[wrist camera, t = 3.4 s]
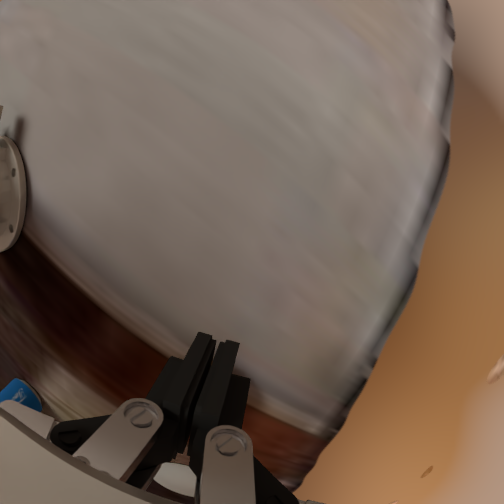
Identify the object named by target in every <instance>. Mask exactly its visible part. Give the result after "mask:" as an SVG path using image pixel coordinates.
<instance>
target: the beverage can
mask: <svg viewBox="0 0 504 504" xmlns="http://www.w3.org/2000/svg"><path fill="white" fill-rule="evenodd" d="M5 400H13V401H16V402H18V403H20V404H22V405H24V406H27V407H29V408H31V409H33V410H36V411H38V412H41V411H42V405H41V400H40V397H39V396H38V394H37V393H36V391H35V390H34V389H33V388H32V387H31V386H30V385H29V384H28V383H27V382H25V381H24V380H19V379H17V378H15V379H13V380H12V381H11V382H10V383H9V384H8V385H7V386H6V387H5V388H4V389H3V390H2V391H1V392H0V403H1V402H3V401H5Z"/></svg>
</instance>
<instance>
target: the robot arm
mask: <svg viewBox="0 0 504 504" xmlns="http://www.w3.org/2000/svg"><path fill="white" fill-rule="evenodd" d="M2 110H3V106H1V105H0V119H1V114H2ZM25 210H26V177H25V171H24V165H23V162H22V158H21V155H20V153H19V150H18V148H17V146H16V145H15V143H14V142H13V141H12V140H11V139H10V138H9V137H6V136H0V252H2V251H5V250H8V249H9V248H11V247H12V246H13V245H14V244H15V242H16V241H17V239H18V237H19V235H20V233H21V229H22V226H23V222H24V217H25ZM239 344H240V343H238V342H234V341H230V340H226V342H225V343H224V342H220V344H219V346H218V349H217V352H216V354H215V357H214V360H213V355H214V350H215V345H216V340H213V339H212V335H209V334H205V333H202V332H198V334H197V336H196V338H195V340H194V341H193V343H192V345H191V347H190V349H189V351H188V353H187V355H186V356H185V358H184V360H182V359H179V358H176V357H173V356H171V357H170V358H169V360H168V361H167V363H166V365H165V366H164V368H163V370H162V371H161V373H160V375H159V376H158V378H157V380H156V382H155V383H154V385H153V387H152V388H151V390H150V392H149V393H148V395H147V397H146V398H145V399H142V398H134V399H130V400H127V401H126V402H124V403H123V404H122V405H121V406H120V407H119V408H118V409H117V410H116V411H115V412H114V413H113V414H112V415H106V416H100V417H93V418H86V419H79V420H71V421H64V422H57V421H56V420H55V418H53V417H50V416H48V415H45V414H43V413H40V412H38V411H36V410H33V409H31V408H29V407H27V406H24V405H22V404H20V403H18V402H16V401H13V400H5V401H3V402H1V403H0V504H181V503H178V502H175V501H172V500H169V499H166V498H163V497H160V496H157V495H154V494H151V493H149V492H146V491H145V490H146V488H147V487H148V486H149V484H150V483H151V481H152V480H153V478H154V477H155V475H156V474H157V472H158V471H159V469H160V468H161V465H162V463H166V462H169V461H171V460H172V458H173V459H175V458H176V455H177V453H181V454H183V452H184V450H185V447H186V444H187V441H188V439H189V436H190V439H189V445H188V452H187V456H190V462H189V467H190V469H191V470H192V472H193V473H194V474H195V476H196V482H195V493H194V504H324V503H319V502H315V501H311V500H307V501H302V500H298V499H297V498H296V497H295V496H294V495H293V494H292V493H291V492H290V491H289V490H288V489H287V488H286V487H285V486H284V485H282V484H281V483H280V482H279V481H278V480H277V479H276V478H275V477H274V476H273V475H272V474H271V473H270V472H269V471H268V470H267V469H266V468H265V467H264V466H263V465H262V464H261V463H260V462H259V461H258V460H257V459H256V458H255V457H254V456H253V447H252V441H251V439H250V437H249V436H248V434H246V433H245V432H244V431H243V430H241V429H242V424H243V418H244V413H245V408H246V402H247V397H248V391H249V385H250V378H245V377H241V376H237V375H234V374H232V370H233V366H234V363H235V359H236V355H237V352H238V348H239ZM212 360H213V362H212ZM211 364H212V365H211Z"/></svg>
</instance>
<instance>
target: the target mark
mask: <svg viewBox="0 0 504 504" xmlns="http://www.w3.org/2000/svg"><path fill="white" fill-rule="evenodd" d="M153 479H154V480H155V481H156V482H158V483H159V484H161V485H162V486H164V487H166V488H168V489H170V490H172V491H174V492H177V493H180V494H183V495H187V496H191V497H194V493H195V482H196V476H195V474H194V473H193V472H192V470H191V469H190V467H189V466H187V465H183V464H177V463H169V462H166V463H162V465H161V468H160V469H159V471H158V472H157V474H156V475H155V477H154V478H153Z"/></svg>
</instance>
